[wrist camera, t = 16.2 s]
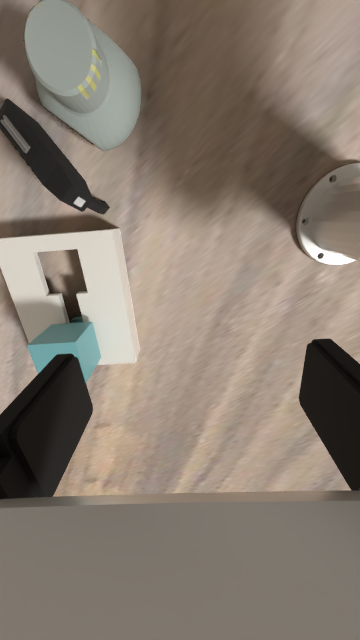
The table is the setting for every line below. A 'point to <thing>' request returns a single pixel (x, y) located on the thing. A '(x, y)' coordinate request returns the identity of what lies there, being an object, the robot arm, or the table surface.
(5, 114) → the black striped sneaker
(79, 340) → the slider
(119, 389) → the table surface
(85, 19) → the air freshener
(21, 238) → the keyhole deck
